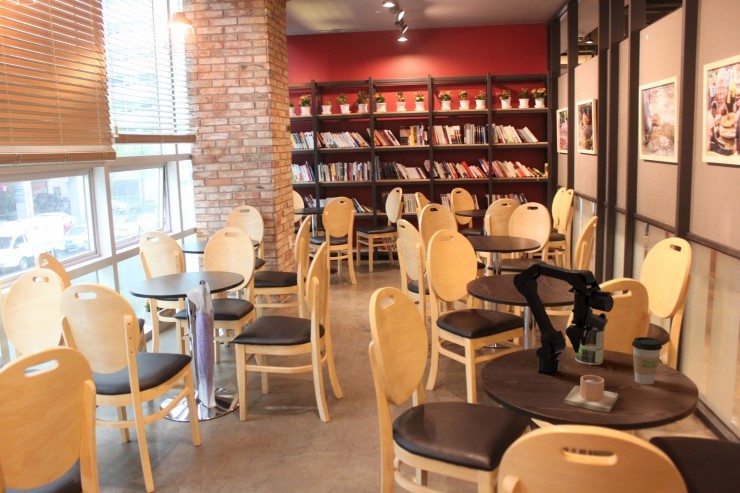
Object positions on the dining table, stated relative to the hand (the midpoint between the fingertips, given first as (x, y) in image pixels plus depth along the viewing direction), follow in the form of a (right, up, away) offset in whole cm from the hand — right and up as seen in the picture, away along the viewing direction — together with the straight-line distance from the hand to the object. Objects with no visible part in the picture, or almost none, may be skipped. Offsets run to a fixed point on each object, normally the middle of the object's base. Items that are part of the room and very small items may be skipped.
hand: (580, 349), depth 227 cm
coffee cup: (+23, -12, +2) cm, 26 cm away
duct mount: (-1, -15, -15) cm, 21 cm away
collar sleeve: (-1, -13, -15) cm, 20 cm away
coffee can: (+11, -8, +23) cm, 27 cm away
